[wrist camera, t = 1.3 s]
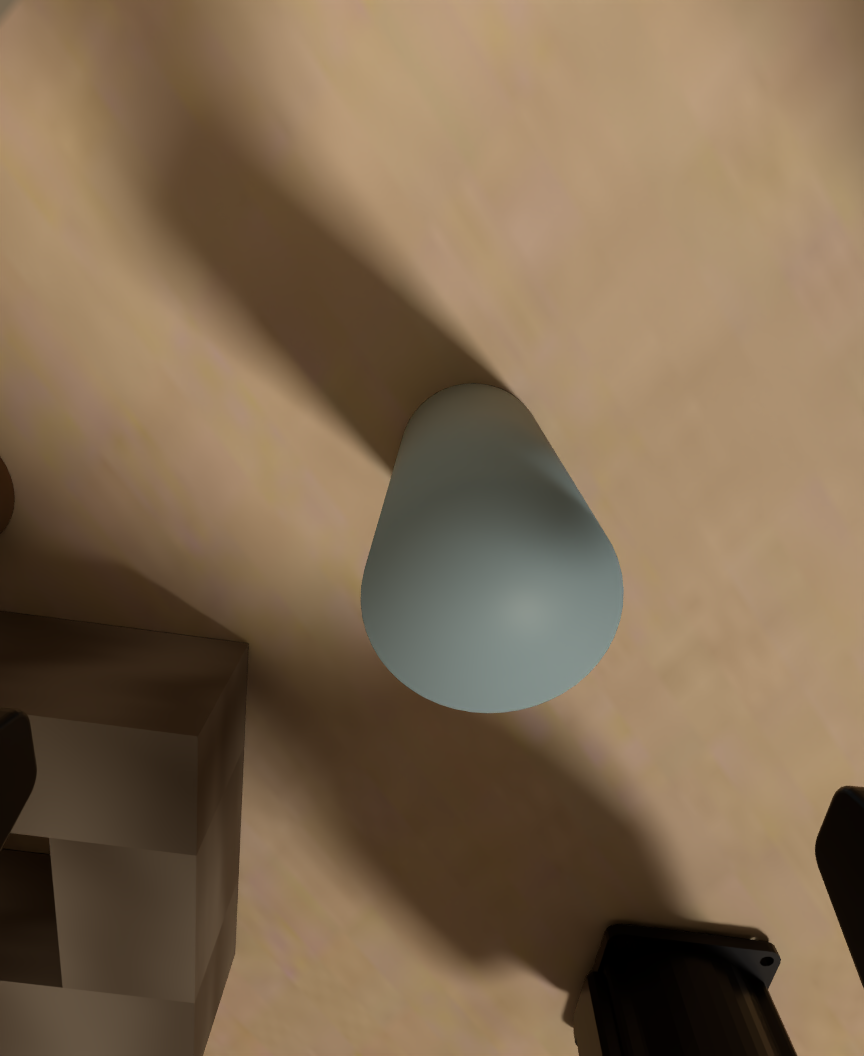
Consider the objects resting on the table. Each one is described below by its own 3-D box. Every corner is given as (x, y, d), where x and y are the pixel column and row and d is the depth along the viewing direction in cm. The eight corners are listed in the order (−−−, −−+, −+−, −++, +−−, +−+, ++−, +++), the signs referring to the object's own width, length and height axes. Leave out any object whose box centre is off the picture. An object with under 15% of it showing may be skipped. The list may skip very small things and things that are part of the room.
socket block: (248, 643, 21) (197, 736, 17) (235, 953, 26) (193, 1085, 22) (-203, 584, 20) (-372, 664, 16) (-129, 910, 25) (-243, 1036, 21)
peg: (556, 394, 18) (652, 498, 9) (528, 531, 19) (591, 727, 11) (409, 373, 18) (375, 459, 9) (393, 512, 19) (349, 696, 11)
